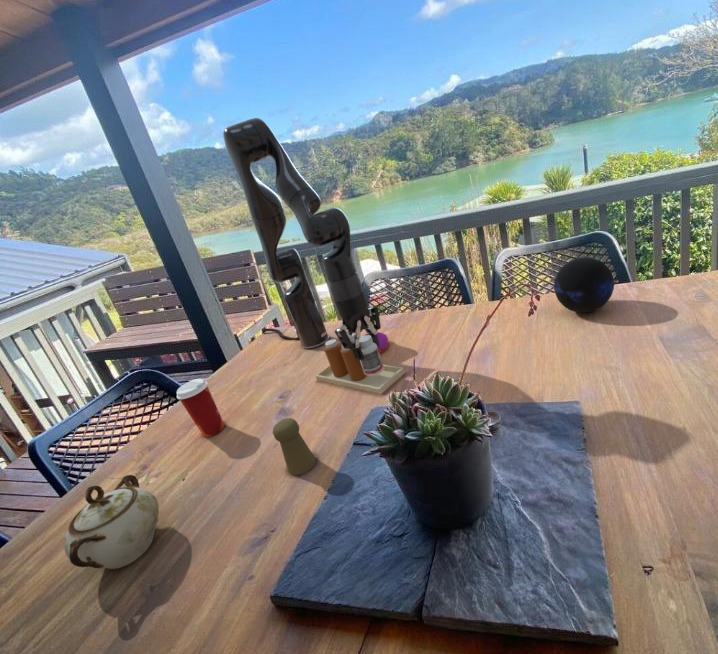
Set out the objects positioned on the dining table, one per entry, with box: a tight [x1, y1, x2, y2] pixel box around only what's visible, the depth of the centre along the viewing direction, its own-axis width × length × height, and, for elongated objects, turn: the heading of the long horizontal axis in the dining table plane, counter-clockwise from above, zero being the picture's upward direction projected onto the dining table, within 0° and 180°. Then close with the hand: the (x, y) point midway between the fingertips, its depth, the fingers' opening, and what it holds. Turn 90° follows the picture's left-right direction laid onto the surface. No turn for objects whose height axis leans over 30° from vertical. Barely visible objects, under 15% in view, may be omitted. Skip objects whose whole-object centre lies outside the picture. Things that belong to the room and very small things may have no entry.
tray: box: [314, 364, 406, 395], centre depth 119 cm, size 25×10×2 cm, turn 52°
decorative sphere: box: [553, 256, 615, 314], centre depth 118 cm, size 15×15×15 cm
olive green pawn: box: [272, 417, 317, 476], centre depth 89 cm, size 6×6×11 cm
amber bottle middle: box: [341, 345, 367, 381], centre depth 117 cm, size 5×5×10 cm
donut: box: [362, 331, 389, 354], centre depth 133 cm, size 10×10×5 cm
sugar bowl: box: [63, 474, 160, 570], centre depth 79 cm, size 20×15×15 cm
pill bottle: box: [359, 334, 384, 376], centre depth 112 cm, size 5×5×10 cm
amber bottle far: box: [323, 338, 348, 378], centre depth 122 cm, size 5×5×10 cm
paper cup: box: [176, 378, 225, 438], centre depth 112 cm, size 8×8×14 cm
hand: (368, 353), depth 112 cm, fingers closed on pill bottle, 5 cm apart
